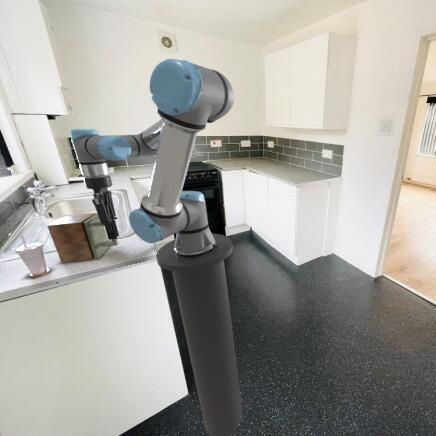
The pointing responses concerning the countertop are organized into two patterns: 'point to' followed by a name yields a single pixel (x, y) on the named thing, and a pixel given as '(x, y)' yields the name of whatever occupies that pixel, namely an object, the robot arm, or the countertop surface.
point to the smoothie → (32, 256)
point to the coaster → (40, 274)
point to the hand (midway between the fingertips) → (113, 237)
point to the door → (98, 236)
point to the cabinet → (71, 238)
